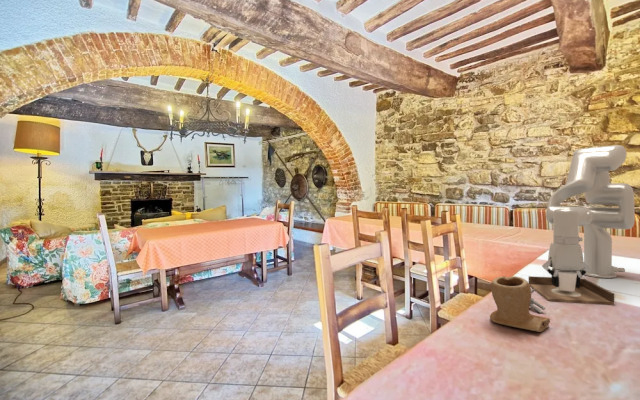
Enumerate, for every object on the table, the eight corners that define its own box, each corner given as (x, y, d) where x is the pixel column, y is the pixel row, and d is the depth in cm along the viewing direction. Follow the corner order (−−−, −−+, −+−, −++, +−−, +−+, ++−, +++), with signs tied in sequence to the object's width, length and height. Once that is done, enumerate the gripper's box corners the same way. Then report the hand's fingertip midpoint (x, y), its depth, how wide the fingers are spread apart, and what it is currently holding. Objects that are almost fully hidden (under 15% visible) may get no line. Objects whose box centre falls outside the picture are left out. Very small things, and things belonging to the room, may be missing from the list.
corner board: (584, 288, 124) (584, 278, 124) (614, 304, 106) (614, 293, 106) (528, 285, 129) (528, 276, 129) (548, 301, 112) (548, 290, 112)
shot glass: (568, 285, 120) (568, 268, 120) (581, 291, 113) (582, 273, 113) (550, 285, 121) (550, 268, 121) (562, 291, 114) (562, 273, 114)
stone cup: (485, 326, 94) (484, 278, 93) (494, 313, 103) (494, 270, 102) (545, 341, 84) (545, 288, 83) (550, 326, 92) (550, 278, 92)
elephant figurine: (530, 316, 100) (506, 299, 107) (533, 325, 103) (510, 306, 111) (552, 296, 100) (526, 280, 108) (555, 305, 103) (530, 288, 111)
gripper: (586, 239, 118) (586, 284, 118) (535, 238, 122) (535, 282, 123) (598, 242, 110) (598, 291, 111) (544, 241, 115) (544, 288, 116)
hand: (565, 286), depth 117 cm, fingers closed on shot glass, 6 cm apart
